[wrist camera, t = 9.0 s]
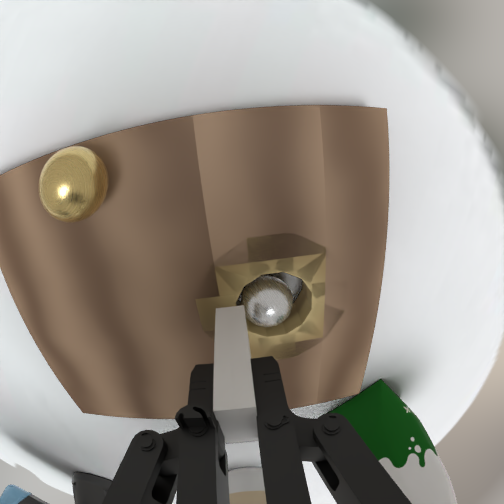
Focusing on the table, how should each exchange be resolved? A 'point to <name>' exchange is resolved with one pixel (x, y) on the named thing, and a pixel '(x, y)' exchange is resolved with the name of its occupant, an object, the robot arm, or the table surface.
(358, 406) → the milk carton
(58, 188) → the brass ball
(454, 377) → the table surface
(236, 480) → the coffee cup
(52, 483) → the table surface
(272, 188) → the board
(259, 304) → the steel ball
